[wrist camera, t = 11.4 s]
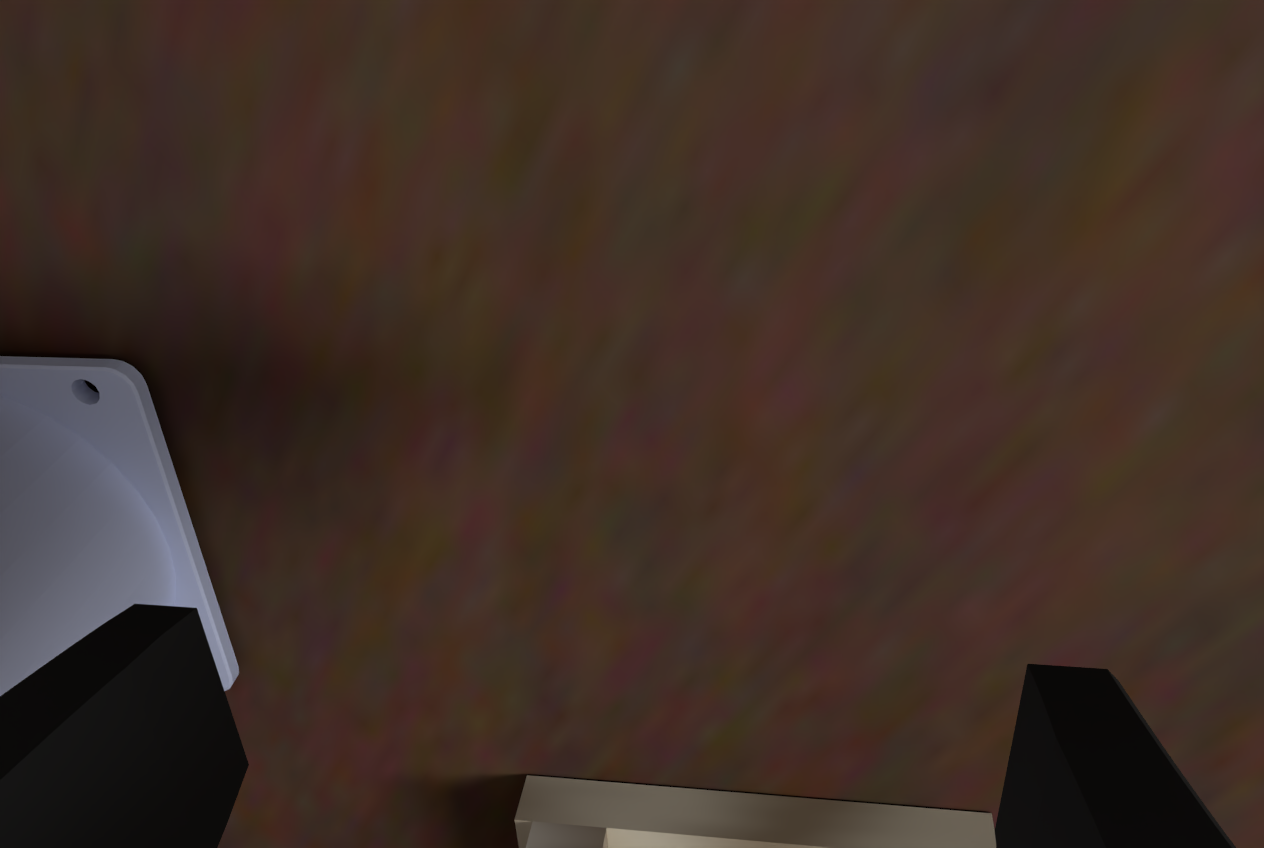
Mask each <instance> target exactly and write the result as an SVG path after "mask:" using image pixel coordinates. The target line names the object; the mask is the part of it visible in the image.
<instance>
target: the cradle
mask: <svg viewBox="0 0 1264 848" xmlns="http://www.w3.org/2000/svg"><path fill="white" fill-rule="evenodd" d="M515 826H516V832H517V839H518V845H519V848H996V838H995V831H994V825H993V819H992V813H981V812H969V811H957V810H944V809H932V808H920V807H908V806H896V805H884V804H871V803H859V802H847V801H835V800H823V799H810V798H798V797H786V796H774V795H762V794H750V793H737V792H725V791H713V790H701V789H689V788H676V787H664V786H652V785H640V784H628V783H616V782H603V781H591V780H579V779H567V778H555V777H542V776H530V775H527V777H526V780H525V784H524V788H523V791H522V795H521V798H520V802H519V805H518V809H517V812H516V816H515Z"/></svg>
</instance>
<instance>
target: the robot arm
mask: <svg viewBox="0 0 1264 848" xmlns="http://www.w3.org/2000/svg"><path fill="white" fill-rule="evenodd" d="M84 380H87V381H89V382H90V383H92V384H93V385H95V386H96V388H97V390H98V391H99V393H97V392H94V391H93V390H92V389H90V388H89V387H88V386H87V384H86V383H85V381H84ZM238 674H239V667H238V664H237V661H236V658H235V654H234V651H233V648H232V645H231V642H230V639H229V636H228V633H227V630H226V627H225V624H224V621H223V617H222V614H221V611H220V608H219V605H218V602H217V599H216V596H215V593H214V590H213V587H212V584H211V580H210V577H209V574H208V571H207V568H206V565H205V562H204V559H203V556H202V553H201V550H200V547H199V544H198V540H197V537H196V534H195V531H194V528H193V525H192V522H191V519H190V516H189V513H188V510H187V507H186V503H185V500H184V497H183V494H182V491H181V488H180V485H179V482H178V479H177V476H176V473H175V470H174V467H173V463H172V460H171V457H170V454H169V451H168V448H167V445H166V442H165V439H164V436H163V433H162V430H161V426H160V423H159V420H158V417H157V414H156V411H155V408H154V405H153V402H152V399H151V396H150V393H149V390H148V386H147V384H146V382H145V380H144V378H143V376H142V374H141V373H140V372H139V371H138V370H136V369H135V368H134V367H133V366H131V365H130V364H128V363H126V362H124V361H120V360H115V359H91V358H52V357H14V356H0V848H217V847H218V844H219V842H220V839H221V837H222V834H223V832H224V830H225V827H226V825H227V822H228V819H229V817H230V814H231V811H232V809H233V806H234V803H235V800H236V798H237V795H238V792H239V790H240V787H241V784H242V781H243V779H244V776H245V773H246V771H247V768H248V765H249V764H248V761H247V758H246V755H245V752H244V749H243V746H242V743H241V740H240V737H239V734H238V731H237V728H236V725H235V722H234V719H233V716H232V713H231V710H230V707H229V704H228V701H227V698H226V695H225V692H224V691H226V690H228V689H230V688H231V686H232V684H233V683H234V681H235V679H236V678H237V676H238ZM995 838H996V848H1236V847H1235V846H1234V844H1233V843H1232V842H1231V840H1230V839H1229V838H1228V836H1227V835H1226V834H1225V832H1224V831H1223V830H1222V828H1221V827H1220V826H1219V824H1218V823H1217V822H1216V820H1215V819H1214V817H1213V816H1212V815H1211V813H1210V812H1209V810H1208V809H1207V808H1206V806H1205V805H1204V804H1203V802H1202V801H1201V799H1200V798H1199V797H1198V795H1197V794H1196V792H1195V791H1194V790H1193V788H1192V787H1191V785H1190V784H1189V783H1188V781H1187V780H1186V778H1185V777H1184V776H1183V774H1182V773H1181V771H1180V770H1179V769H1178V767H1177V766H1176V764H1175V763H1174V761H1173V760H1172V759H1171V757H1170V756H1169V754H1168V753H1167V751H1166V750H1165V749H1164V747H1163V746H1162V744H1161V743H1160V741H1159V740H1158V738H1157V737H1156V736H1155V734H1154V733H1153V731H1152V730H1151V728H1150V727H1149V725H1148V724H1147V722H1146V721H1145V719H1144V718H1143V716H1142V715H1141V714H1140V712H1139V711H1138V709H1137V708H1136V706H1135V705H1134V703H1133V702H1132V700H1131V699H1130V697H1129V696H1128V694H1127V693H1126V691H1125V690H1124V688H1123V687H1122V685H1121V684H1120V682H1119V681H1118V680H1117V679H1116V678H1115V677H1114V676H1113V675H1112V674H1111V673H1110V671H1109V670H1108V669H1096V668H1081V667H1067V666H1052V665H1037V664H1028V665H1027V670H1026V675H1025V680H1024V685H1023V690H1022V695H1021V700H1020V706H1019V711H1018V716H1017V721H1016V726H1015V731H1014V736H1013V741H1012V746H1011V751H1010V756H1009V761H1008V767H1007V772H1006V777H1005V782H1004V787H1003V792H1002V797H1001V802H1000V807H999V812H998V817H997V823H996V828H995Z"/></svg>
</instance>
